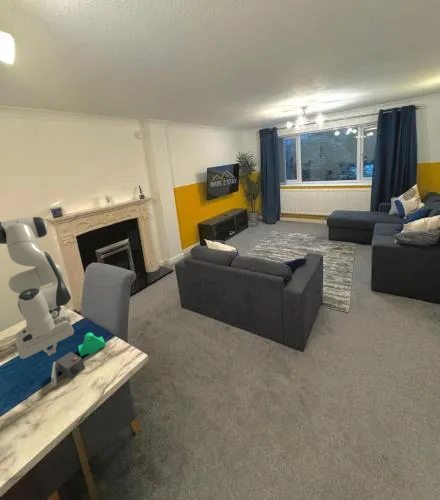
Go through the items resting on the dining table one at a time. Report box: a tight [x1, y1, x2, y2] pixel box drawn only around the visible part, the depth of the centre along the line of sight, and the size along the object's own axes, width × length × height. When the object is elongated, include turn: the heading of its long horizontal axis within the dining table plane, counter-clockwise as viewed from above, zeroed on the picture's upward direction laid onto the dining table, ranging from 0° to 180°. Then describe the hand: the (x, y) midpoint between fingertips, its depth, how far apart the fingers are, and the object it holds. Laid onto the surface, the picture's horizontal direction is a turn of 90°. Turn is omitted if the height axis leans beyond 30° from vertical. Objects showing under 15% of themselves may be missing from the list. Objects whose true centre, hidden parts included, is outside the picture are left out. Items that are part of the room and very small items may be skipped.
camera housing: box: [55, 351, 86, 380], centre depth 122 cm, size 11×7×7 cm, turn 57°
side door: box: [50, 361, 59, 387], centre depth 117 cm, size 11×2×5 cm, turn 27°
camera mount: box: [77, 332, 107, 357], centre depth 135 cm, size 12×8×10 cm, turn 124°
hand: (52, 353), depth 112 cm, fingers closed
